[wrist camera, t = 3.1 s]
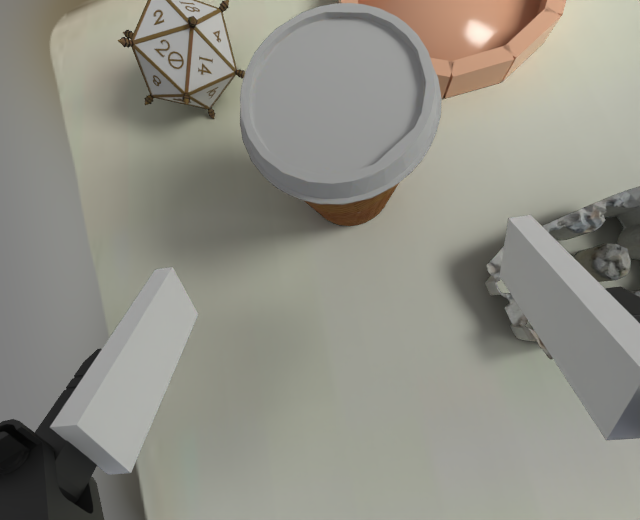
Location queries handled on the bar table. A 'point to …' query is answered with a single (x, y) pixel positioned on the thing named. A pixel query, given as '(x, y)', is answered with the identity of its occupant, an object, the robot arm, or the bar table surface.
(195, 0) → the game die
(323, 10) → the disposable coffee cup
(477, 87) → the terracotta bowl
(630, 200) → the egg carton
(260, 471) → the bar table surface
